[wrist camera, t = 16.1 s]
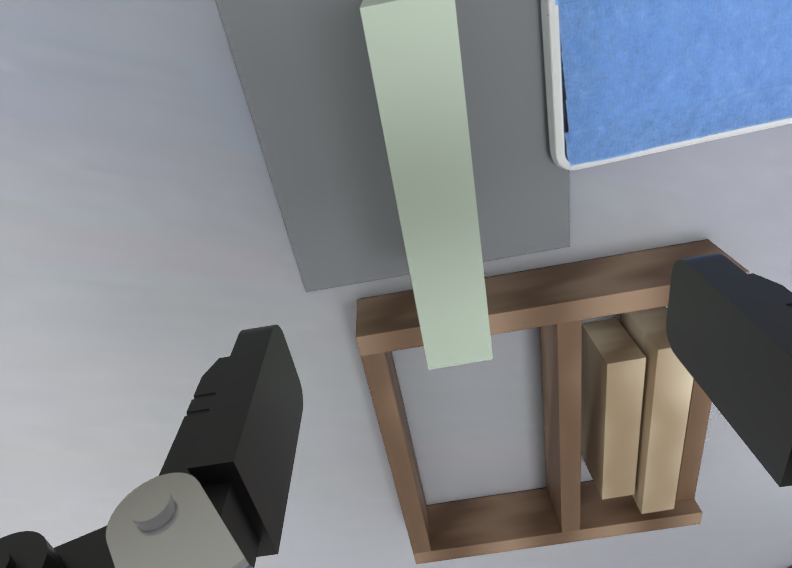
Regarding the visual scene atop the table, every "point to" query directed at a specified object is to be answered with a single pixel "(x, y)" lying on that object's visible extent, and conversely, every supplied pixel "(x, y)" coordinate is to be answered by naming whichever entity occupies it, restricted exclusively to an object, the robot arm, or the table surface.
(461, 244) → the tall block
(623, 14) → the tablet computer
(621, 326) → the offcut stack
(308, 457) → the table surface
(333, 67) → the mat
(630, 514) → the storage rack
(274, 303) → the table surface
